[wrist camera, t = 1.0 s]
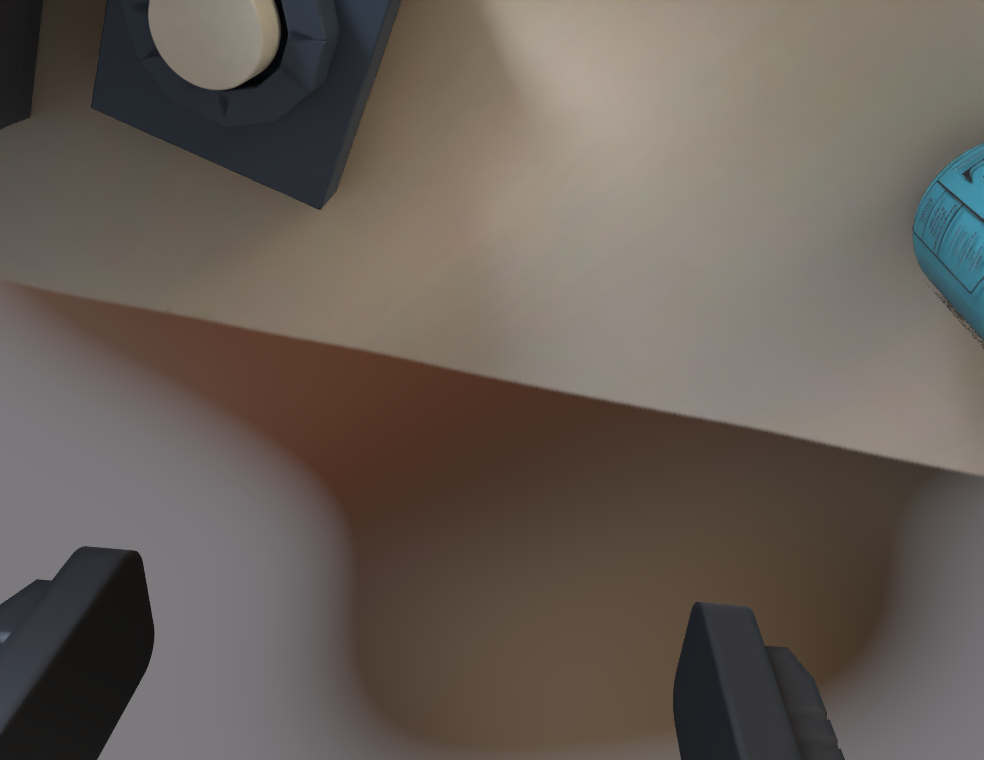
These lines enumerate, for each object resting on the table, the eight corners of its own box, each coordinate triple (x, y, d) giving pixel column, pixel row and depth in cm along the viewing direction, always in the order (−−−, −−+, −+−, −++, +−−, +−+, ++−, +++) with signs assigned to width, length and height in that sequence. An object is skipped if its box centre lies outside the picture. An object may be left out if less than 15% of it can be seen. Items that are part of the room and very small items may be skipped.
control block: (174, -231, 25) (111, -248, 22) (434, -98, 27) (412, -95, 23) (119, 94, 31) (62, 120, 28) (335, 192, 32) (307, 228, 29)
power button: (184, -64, 25) (159, -60, 23) (294, -10, 25) (276, -4, 24) (162, 49, 27) (137, 60, 25) (265, 97, 27) (247, 110, 26)
